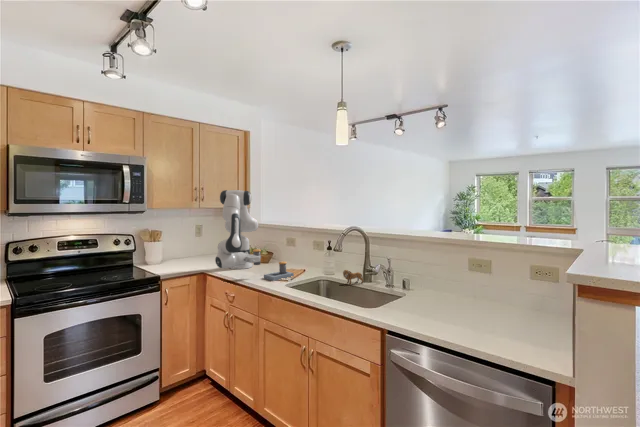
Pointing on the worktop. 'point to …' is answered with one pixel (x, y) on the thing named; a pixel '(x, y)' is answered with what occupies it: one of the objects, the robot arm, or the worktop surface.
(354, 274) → the lion figurine
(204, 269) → the worktop surface
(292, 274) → the housing
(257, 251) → the jaw peg
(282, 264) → the seated jaw
